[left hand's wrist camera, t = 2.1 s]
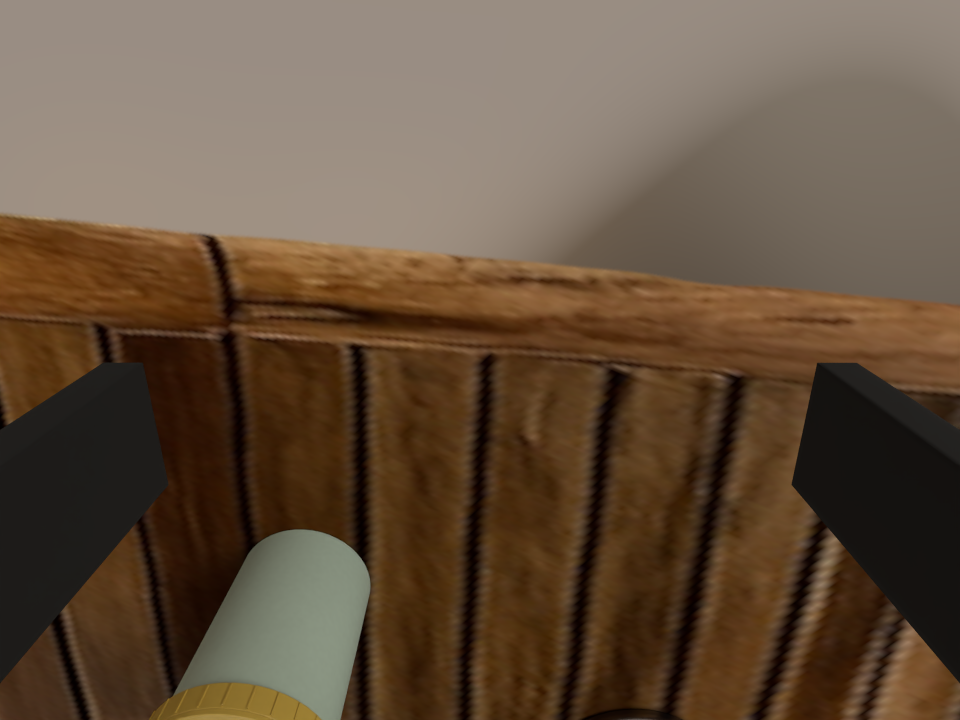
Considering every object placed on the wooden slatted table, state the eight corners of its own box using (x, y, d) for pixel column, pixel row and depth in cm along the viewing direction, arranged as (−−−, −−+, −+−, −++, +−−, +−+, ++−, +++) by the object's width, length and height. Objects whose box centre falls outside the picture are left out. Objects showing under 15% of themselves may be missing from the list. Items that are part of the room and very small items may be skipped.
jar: (378, 627, 50) (337, 834, 36) (256, 634, 51) (166, 842, 36) (360, 525, 47) (307, 708, 32) (229, 533, 47) (117, 719, 33)
